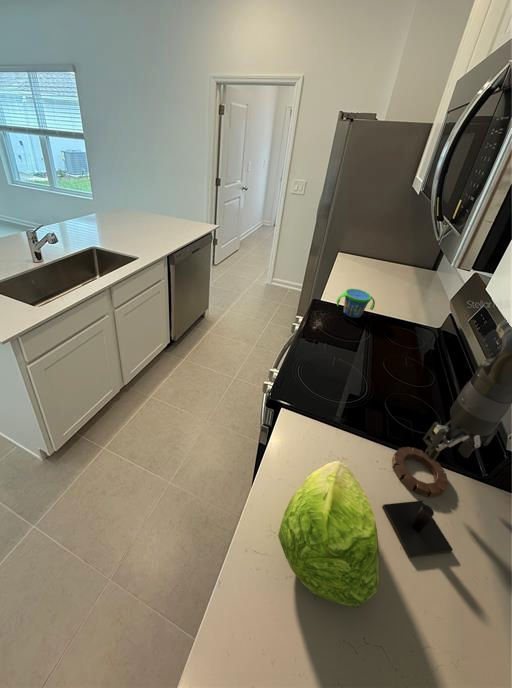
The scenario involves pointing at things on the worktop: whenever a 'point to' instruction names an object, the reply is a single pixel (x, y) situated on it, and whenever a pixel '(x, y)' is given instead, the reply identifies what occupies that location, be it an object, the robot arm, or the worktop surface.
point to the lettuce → (332, 537)
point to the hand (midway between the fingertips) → (446, 455)
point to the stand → (416, 529)
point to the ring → (412, 482)
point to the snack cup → (355, 302)
